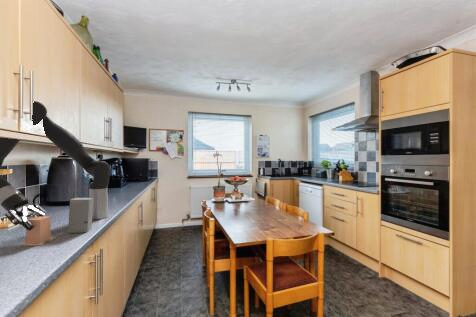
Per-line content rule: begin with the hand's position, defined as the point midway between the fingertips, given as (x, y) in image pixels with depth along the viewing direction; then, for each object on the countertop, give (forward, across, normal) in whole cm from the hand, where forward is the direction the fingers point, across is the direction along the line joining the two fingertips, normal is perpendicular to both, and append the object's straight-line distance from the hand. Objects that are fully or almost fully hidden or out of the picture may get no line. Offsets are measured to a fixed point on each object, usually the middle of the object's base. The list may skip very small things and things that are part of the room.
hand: (40, 225), depth 98 cm
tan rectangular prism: (+4, 0, +5) cm, 6 cm away
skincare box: (+11, +14, -1) cm, 18 cm away
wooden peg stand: (+4, 0, +5) cm, 7 cm away
